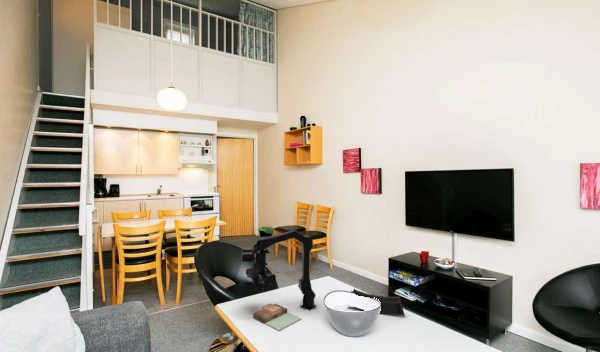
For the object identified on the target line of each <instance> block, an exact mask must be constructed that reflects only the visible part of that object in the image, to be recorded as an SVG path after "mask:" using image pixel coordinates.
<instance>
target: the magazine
mask: <svg viewBox="0 0 600 352" xmlns="http://www.w3.org/2000/svg"><path fill="white" fill-rule="evenodd" d="M350 292H351V293H355V294H356V295H358V296H364V297H370V298H374V297H375V299H376V298H377V300H378V299H379V301H380V302H381V311H380V314H379V315H384V316H385V315H386V316H405V311H404V307H403V304H402V301H401V298H400V297H401V296H400V295H398V296H385V295H376V294H372V293H371V294H370V293H366V292H363V291H362V290H361V291H360V290H357V289H356V288H353V289H352V290H350Z"/></svg>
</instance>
